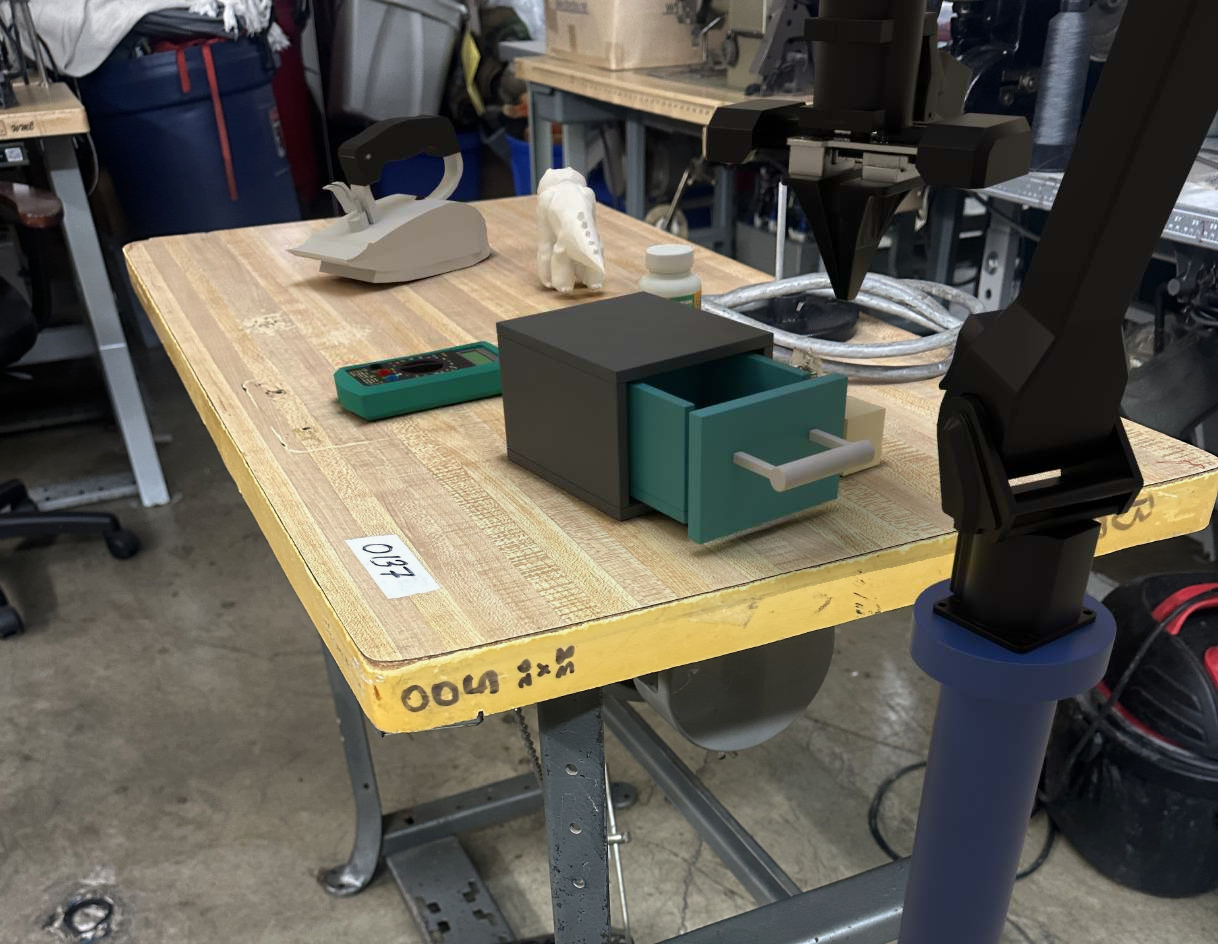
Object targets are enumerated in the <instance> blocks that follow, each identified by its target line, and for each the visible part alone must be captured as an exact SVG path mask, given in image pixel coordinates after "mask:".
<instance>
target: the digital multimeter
mask: <svg viewBox="0 0 1218 944" xmlns="http://www.w3.org/2000/svg"><path fill="white" fill-rule="evenodd" d="M333 379H334V384H335V390H336V391H335V392H336V396H337V400H338V402H339V404H340V406H342V408H344V409H345V410H347V411H349V412H351V413H353V414H355V415H357V416H359V417H361V418H362V419H365V420H367V421H369V422H370V421H374V420H375V421H376V420H380V419H385V418H390V417H395V416H399V415H404V414H410V413H413V412H414V413H415V412H419V411H423V410H429V409H434V408H439V407H443V406H448V405H452V404H458V403H462V402H466V401H467V402H468V401H472V400H476V399H481V398H485V397H486V398H488V397H493V396H495V395H496V396H497V395H502V386H501V375H500V363H499V352H498V345H494V344H493V343H491V342H488V341H485V340H480V341H475V342H470V343H466V344H461V345H456V346H451V347H446V348H442V349H437V350H432V351H426V352H421V353H415V354H411V355H406V356H401V357H394V358H388V359H381V360H376V361H372V362H365V363H359V364H352V365H347V366H341V367H339V368H338V369H337V370H336V371H335V372H334V373H333Z"/></svg>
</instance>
